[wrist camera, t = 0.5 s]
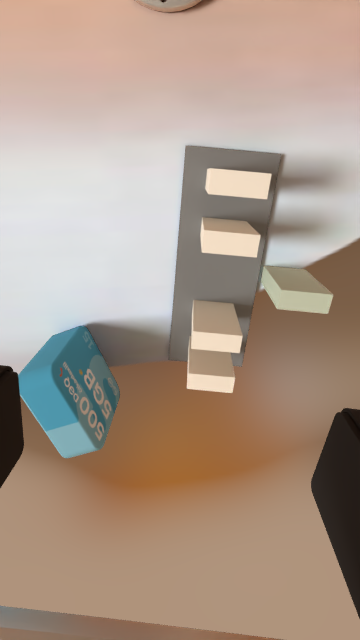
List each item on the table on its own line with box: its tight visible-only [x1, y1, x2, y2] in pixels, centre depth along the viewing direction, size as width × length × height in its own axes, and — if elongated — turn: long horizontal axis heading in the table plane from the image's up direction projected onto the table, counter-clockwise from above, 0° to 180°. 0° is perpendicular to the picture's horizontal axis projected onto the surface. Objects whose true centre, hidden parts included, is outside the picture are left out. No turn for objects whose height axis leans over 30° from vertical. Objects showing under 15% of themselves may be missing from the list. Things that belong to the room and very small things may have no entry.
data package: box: [18, 326, 120, 458], centre depth 41 cm, size 12×4×12 cm, turn 21°
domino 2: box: [200, 217, 261, 258], centre depth 34 cm, size 2×5×9 cm, turn 85°
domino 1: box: [205, 168, 271, 199], centre depth 32 cm, size 2×5×9 cm, turn 85°
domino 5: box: [261, 266, 333, 314], centre depth 37 cm, size 2×5×9 cm, turn 85°
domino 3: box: [191, 300, 243, 353], centre depth 38 cm, size 2×5×9 cm, turn 85°
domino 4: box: [187, 335, 235, 393], centre depth 40 cm, size 2×5×9 cm, turn 85°
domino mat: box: [169, 146, 281, 367], centre depth 40 cm, size 26×10×1 cm, turn 175°
